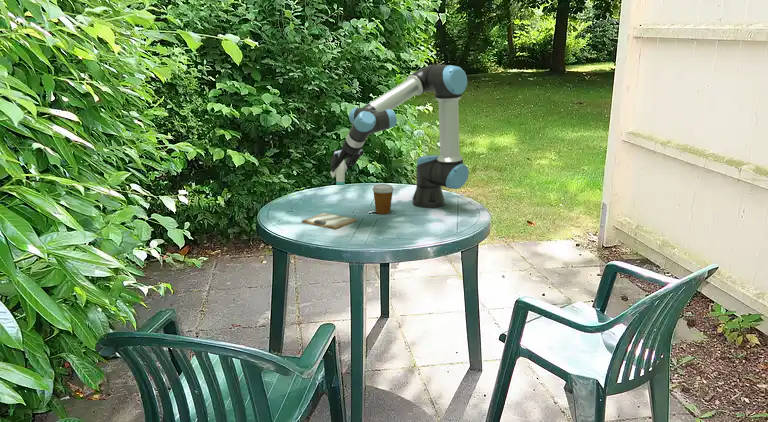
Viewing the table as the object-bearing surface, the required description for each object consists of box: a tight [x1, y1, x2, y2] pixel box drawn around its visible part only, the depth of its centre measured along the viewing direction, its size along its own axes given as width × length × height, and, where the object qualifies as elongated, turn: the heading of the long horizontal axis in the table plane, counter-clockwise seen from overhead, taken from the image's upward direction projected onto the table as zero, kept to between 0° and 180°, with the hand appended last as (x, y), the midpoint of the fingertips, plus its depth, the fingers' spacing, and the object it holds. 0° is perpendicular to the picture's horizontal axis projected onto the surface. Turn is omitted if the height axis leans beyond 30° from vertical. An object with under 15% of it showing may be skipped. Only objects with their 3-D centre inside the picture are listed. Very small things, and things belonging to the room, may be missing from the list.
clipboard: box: [301, 212, 358, 230], centre depth 266 cm, size 18×15×2 cm
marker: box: [335, 154, 346, 186], centre depth 264 cm, size 4×4×13 cm
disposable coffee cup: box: [372, 183, 394, 215], centre depth 279 cm, size 10×10×12 cm
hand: (336, 174), depth 268 cm, fingers closed on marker, 3 cm apart
